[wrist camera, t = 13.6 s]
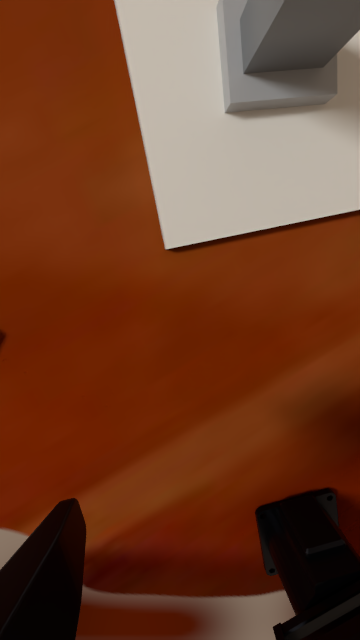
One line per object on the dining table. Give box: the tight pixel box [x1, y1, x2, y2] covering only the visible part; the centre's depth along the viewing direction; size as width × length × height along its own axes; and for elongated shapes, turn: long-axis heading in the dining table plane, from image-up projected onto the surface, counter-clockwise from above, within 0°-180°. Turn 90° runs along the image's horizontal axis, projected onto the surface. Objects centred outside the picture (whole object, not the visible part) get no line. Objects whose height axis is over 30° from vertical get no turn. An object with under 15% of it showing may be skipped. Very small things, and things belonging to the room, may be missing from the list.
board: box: [114, 0, 360, 249], centre depth 18 cm, size 14×16×1 cm
